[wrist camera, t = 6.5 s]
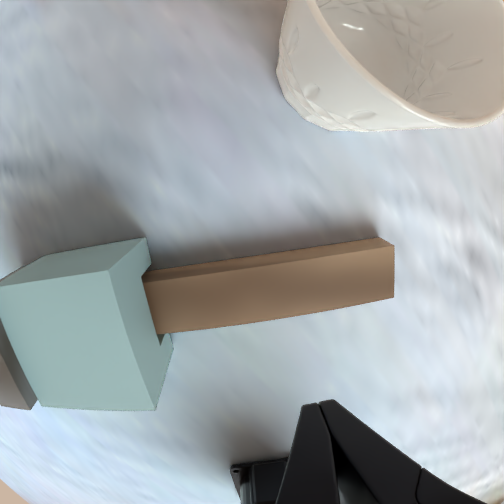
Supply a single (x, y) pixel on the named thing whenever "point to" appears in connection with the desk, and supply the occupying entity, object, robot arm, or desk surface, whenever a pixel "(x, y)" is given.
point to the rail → (244, 295)
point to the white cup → (393, 63)
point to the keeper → (87, 328)
